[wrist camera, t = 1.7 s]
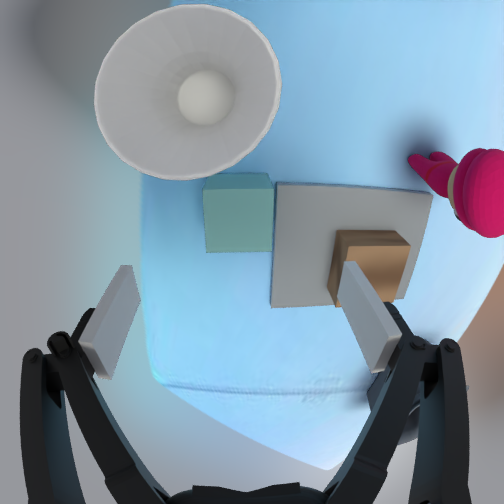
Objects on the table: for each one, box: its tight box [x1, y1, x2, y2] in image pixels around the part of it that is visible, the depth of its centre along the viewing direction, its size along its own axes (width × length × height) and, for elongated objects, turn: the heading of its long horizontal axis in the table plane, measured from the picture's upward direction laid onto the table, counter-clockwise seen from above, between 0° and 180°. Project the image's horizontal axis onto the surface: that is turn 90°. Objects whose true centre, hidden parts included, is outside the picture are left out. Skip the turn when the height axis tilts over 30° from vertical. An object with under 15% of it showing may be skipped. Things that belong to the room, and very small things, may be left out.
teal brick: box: [202, 173, 274, 253], centre depth 27 cm, size 6×6×6 cm
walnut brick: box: [327, 230, 411, 307], centre depth 31 cm, size 8×8×4 cm
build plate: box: [270, 183, 433, 308], centre depth 33 cm, size 16×20×1 cm
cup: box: [94, 4, 282, 181], centre depth 18 cm, size 10×10×14 cm
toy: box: [408, 148, 504, 238], centre depth 21 cm, size 8×8×15 cm
